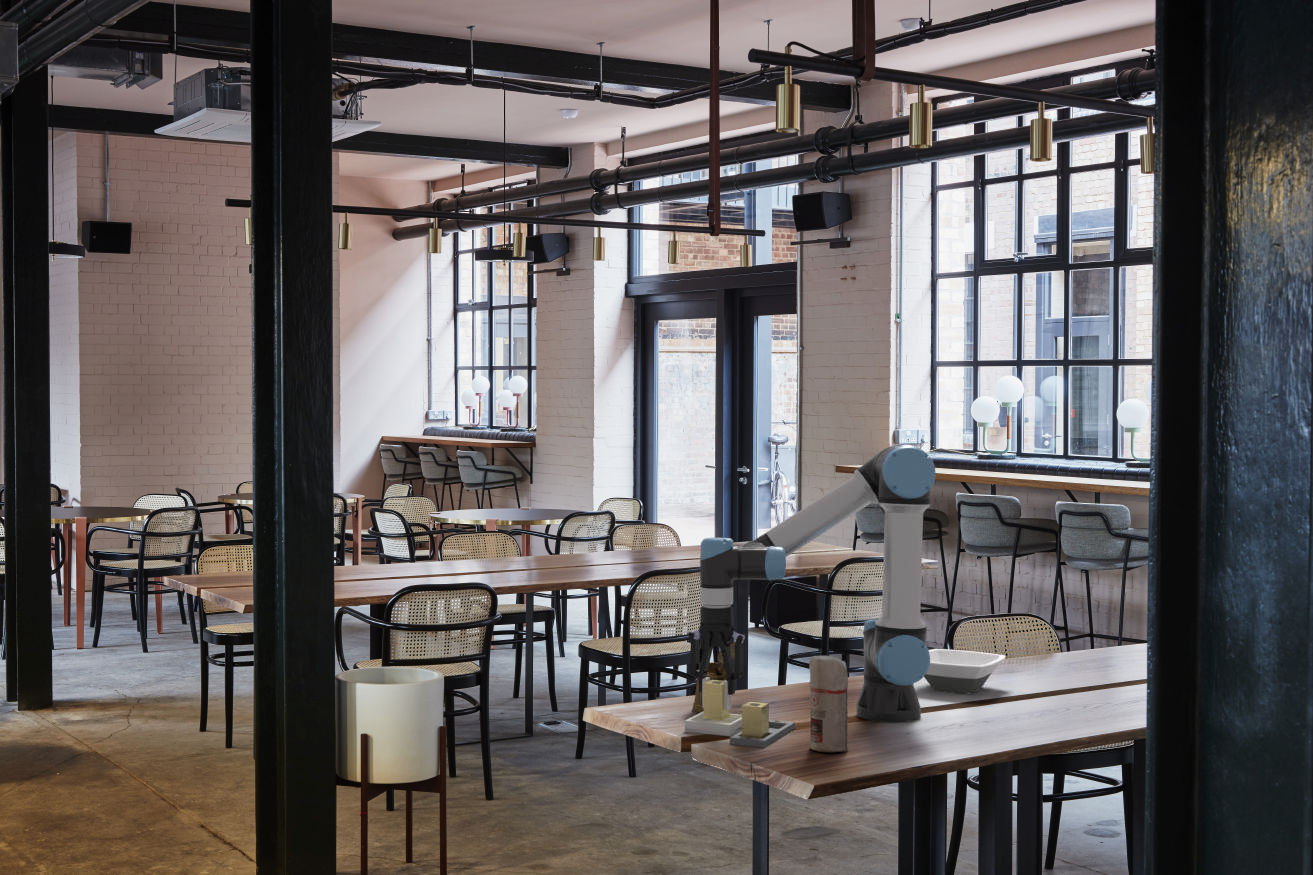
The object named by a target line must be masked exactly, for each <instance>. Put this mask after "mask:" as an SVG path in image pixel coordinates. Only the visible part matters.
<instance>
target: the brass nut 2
mask: <svg viewBox="0 0 1313 875" xmlns="http://www.w3.org/2000/svg"><path fill="white" fill-rule="evenodd" d="M769 708H770V705H769V703H767V702H758V701H757V702H756V701H748V702H746V703H744V704H742V705H741V715H742V730H741V731H742V736H743V737H752V738H762V739H764V738H765V737H767V736H769V720H770V717H769V716H770V715H769V714H770V709H769Z"/></svg>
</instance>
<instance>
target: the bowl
mask: <svg viewBox="0 0 1313 875" xmlns="http://www.w3.org/2000/svg"><path fill="white" fill-rule="evenodd" d="M928 651H929V654H930V666H929V669H928V671H927V673H926V674H925V676H924V677H923V678H924V679H925V681H926V682H927V683H928V684H929V686H930V687H931V688H932V690H933V689H935V690H934V691H937V690H940V691H939V692H943V691H945V693H951V692H953V693H954V694H963V693H970V694H973V692H974V693H976V692H977V691H980V690H981V689H982V688H983V686H984V685H985V683H986V682H987V680H988V679H989V678H990V676H991V675H992V673H994V672H995V671H996V670H997V669H998V667H999V666H1000V665H1001V664H1002V662H1004V661H1005V658H1006V655H1005V654H996V653H991V652H982V651H981V652H980V651H973V650H972V651H971V650H962V649H961V650H958V649H946V648H941V649H940V648H933V649H928ZM979 689H980V690H979Z"/></svg>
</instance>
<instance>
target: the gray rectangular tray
mask: <svg viewBox="0 0 1313 875" xmlns="http://www.w3.org/2000/svg"><path fill="white" fill-rule="evenodd" d="M795 729H796V722H795V721H786V720H777V719H776V720H774V719H769V736H767V737H765V738H764V739H762V738H752V737H743V736H742V730H741V731H739V732H737V733H735V734H734V735H732V736H729V744H730V745H739V746H744V747H745V746H746V747H755V748H765V749H766V747H768V746H770V745H772V743H774V742H776V741H778V739H781V738H782V737H784V736H786V735H787V734H788V733H790V732H792V731H794V730H795Z"/></svg>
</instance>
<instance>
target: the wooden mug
mask: <svg viewBox="0 0 1313 875" xmlns="http://www.w3.org/2000/svg"><path fill="white" fill-rule="evenodd" d="M729 643H730V652H731V657H732V661H734V660H735V642H734V640H733V641H732V642H729ZM716 660H717V662H711V661H710V663H709V667H708V672H707V674H708V676H706V677H710V680H719V681H725V680H726V679H727V676H726V671H725V667H724V662H723V658H722V653H721V651H720V650H719V652H718V653H717V656H716ZM700 664H701V662H700ZM695 687H696V688H695V694H694V702H693V705H692V708H691V710H692V711H693V712H695V713H698V714H699V713H701V712H703V711H704V708H702V692H699V678H698V677H697V680H696V686H695Z"/></svg>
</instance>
